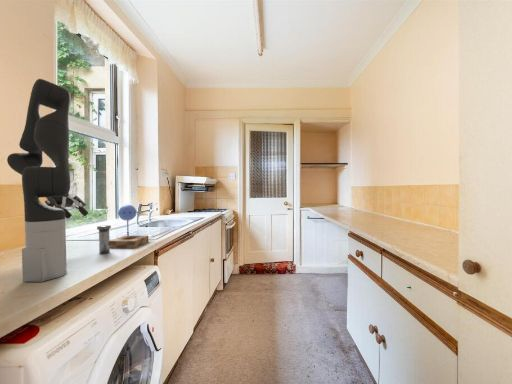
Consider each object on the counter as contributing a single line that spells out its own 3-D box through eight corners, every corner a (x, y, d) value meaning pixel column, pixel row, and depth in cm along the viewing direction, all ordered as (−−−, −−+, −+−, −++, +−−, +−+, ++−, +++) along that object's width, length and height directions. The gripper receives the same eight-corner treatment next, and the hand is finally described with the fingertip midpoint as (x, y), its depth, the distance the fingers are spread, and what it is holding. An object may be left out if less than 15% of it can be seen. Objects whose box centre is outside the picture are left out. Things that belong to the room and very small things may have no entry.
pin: (106, 254, 96) (105, 227, 96) (94, 254, 96) (94, 227, 96) (114, 251, 101) (113, 225, 100) (103, 251, 101) (102, 225, 101)
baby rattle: (119, 237, 128) (118, 204, 128) (137, 236, 132) (136, 203, 131) (117, 241, 120) (117, 205, 120) (136, 239, 124) (136, 204, 123)
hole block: (134, 247, 106) (134, 241, 106) (108, 247, 107) (108, 241, 107) (148, 241, 118) (148, 235, 118) (125, 241, 119) (125, 235, 119)
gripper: (41, 181, 92) (69, 211, 92) (72, 182, 106) (97, 208, 106) (28, 195, 93) (57, 225, 92) (61, 194, 107) (86, 219, 106)
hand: (78, 215), depth 99 cm, fingers open, 8 cm apart
